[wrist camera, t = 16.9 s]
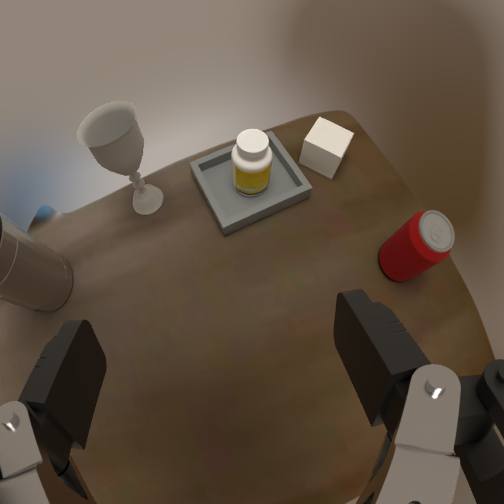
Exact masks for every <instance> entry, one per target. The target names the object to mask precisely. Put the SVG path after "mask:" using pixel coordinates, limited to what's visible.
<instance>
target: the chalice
mask: <svg viewBox="0 0 504 504" xmlns="http://www.w3.org/2000/svg"><path fill="white" fill-rule="evenodd" d="M137 111H138V110H137V108H136V106H135V105H134V104H132V103H131V102H129V101H123V100H121V101H113V102H110V103H107V104H104V105H102V106H100V107H98V108H96V109H95V110H93V111H92V112H91V113H89V115H87V116H86V118H85V119H84V120H83V121H82V123H81V125H80V126H79V128H78V132H77V137H78V141H79V142H80V143H81V144H82V145H85V146H87V147H88V148H89V149H90V151H91V152H92V154H93V155H94V157H95V159H96V160H97V162H98V163H99V164H100V165H101V166H102V167H104V168H106V169H108V170H109V171H112V172H115V173H118V174H121V175H125V176H127V175H130V177H129V180H130V181H132V182H134V183H133V188H134V189H136V190H135V192H134V195H133V208H134V210H135V211H136V212H137V213H139V214H142V215H148V214H152V213H153V212H155V211H157V210H158V209H159V208H160V206H161V205H162V202H163V193H162V191H161V190H160V189H159V188H157V187H155V186H153V185H150V184H145V181H144V180H143V179H140V173H139V172H136V171H137V170H138V168H139V166H140V163H141V159H142V156H143V147H144V139H143V136H142V134H141V132H140V129H139V126H138V124H137V121H136V119H137Z"/></svg>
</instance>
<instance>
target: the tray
mask: <svg viewBox="0 0 504 504" xmlns="http://www.w3.org/2000/svg"><path fill="white" fill-rule="evenodd" d="M265 134H266V135H267V137H268V139H269V147H270V148H271V151H272V164H271V171H270V178H269V184H268V187H267V189H266V190H265V191H264V192H263V193H262V194H260V195H258V196H254V197H248V196H244V195H241V194H240V193H238V192H237V191H236V190H235V188H234V186H233V182H232V160H231V153H232V149H233V147H234V146H235V145H236V144H234V145H231V146H229V147H226V148H224V149H221V150H219V151H216V152H214V153H211V154H209V155H207V156H204V157H202V158H199V159H197V160H195V161H192V162H190V163H189V164H190V168H191V172H192V175H193V177H194V179H195V181H196V182H197V184H198V186H199V188H200V190H201V192H202V194H203V196H204V198H205V200H206V202H207V204H208V206H209V208H210V210H211V211H212V213H213V215H214V217H215V219H216V221H217V223H218V225H219V227H220V229H221V231H222V233H223V234H224V236H227V235H229V234H231V233H233V232H235V231H237V230H240V229H242V228H244V227H246V226H248V225H250V224H252V223H255V222H257V221H259V220H261V219H263V218H265V217H268V216H270V215H272V214H274V213H276V212H279V211H281V210H283V209H285V208H287V207H289V206H292V205H294V204H296V203H298V202H301V201H303V200H305V199H307V198H309V196H310V193H311V190H312V186H311V185H310V183H309V182H308V180H307V179H306V178H305V176H304V175H303V173H302V172H301V170H300V169H299V168H298V166H297V165H296V163H295V162H294V161H293V159H292V158H291V157H290V155H289V154H288V152H287V151H286V150H285V148H284V147H283V146H282V144H281V143H280V142H279V140H278V139H277V137H276V136H275V135H274V134H273V132H272V131H269V132H266V133H265Z"/></svg>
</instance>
